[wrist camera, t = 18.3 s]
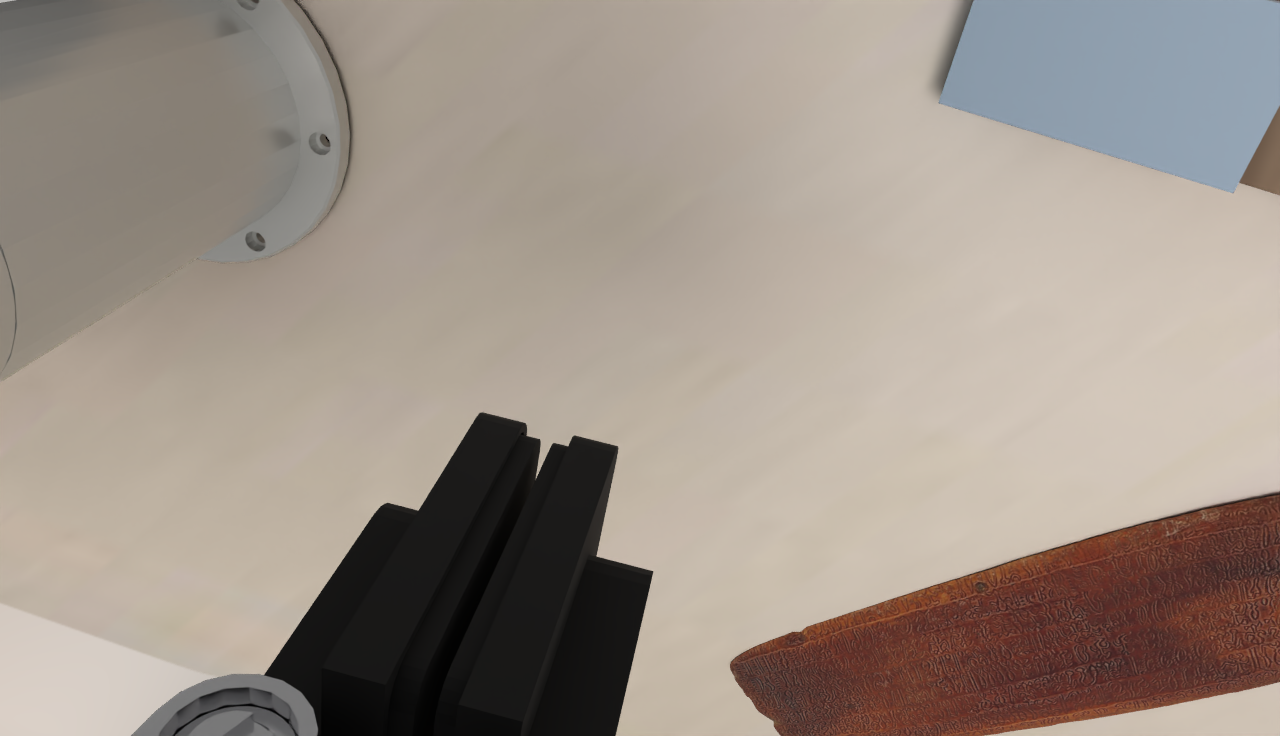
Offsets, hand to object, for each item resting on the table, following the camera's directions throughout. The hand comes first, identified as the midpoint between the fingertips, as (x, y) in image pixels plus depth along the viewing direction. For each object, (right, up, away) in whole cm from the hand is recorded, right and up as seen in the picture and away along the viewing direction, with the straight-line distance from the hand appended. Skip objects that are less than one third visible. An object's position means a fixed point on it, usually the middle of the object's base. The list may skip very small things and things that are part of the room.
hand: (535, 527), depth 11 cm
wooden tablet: (+19, -11, +32) cm, 39 cm away
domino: (+12, +13, +19) cm, 26 cm away
